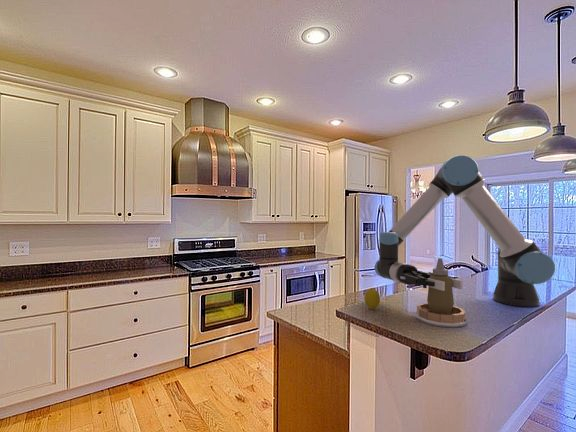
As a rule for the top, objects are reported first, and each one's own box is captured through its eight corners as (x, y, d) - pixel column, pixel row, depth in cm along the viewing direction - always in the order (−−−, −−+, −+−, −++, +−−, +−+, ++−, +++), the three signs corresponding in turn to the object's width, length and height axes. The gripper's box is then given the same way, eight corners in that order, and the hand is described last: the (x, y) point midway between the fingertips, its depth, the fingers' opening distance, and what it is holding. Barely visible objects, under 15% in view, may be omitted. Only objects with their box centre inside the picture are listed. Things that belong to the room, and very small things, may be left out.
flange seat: (440, 311, 112) (440, 301, 112) (477, 324, 97) (477, 313, 97) (406, 315, 107) (406, 304, 107) (439, 329, 93) (439, 317, 93)
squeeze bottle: (429, 315, 99) (429, 259, 99) (424, 308, 107) (424, 256, 107) (457, 317, 97) (457, 260, 98) (450, 310, 105) (450, 257, 105)
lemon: (369, 312, 110) (369, 290, 110) (361, 308, 116) (361, 286, 116) (383, 311, 112) (382, 289, 112) (374, 307, 117) (374, 285, 117)
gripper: (424, 281, 122) (476, 295, 100) (382, 284, 116) (428, 299, 94) (424, 262, 122) (476, 272, 101) (382, 264, 116) (427, 275, 95)
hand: (452, 285), depth 98 cm, fingers closed on squeeze bottle, 6 cm apart
